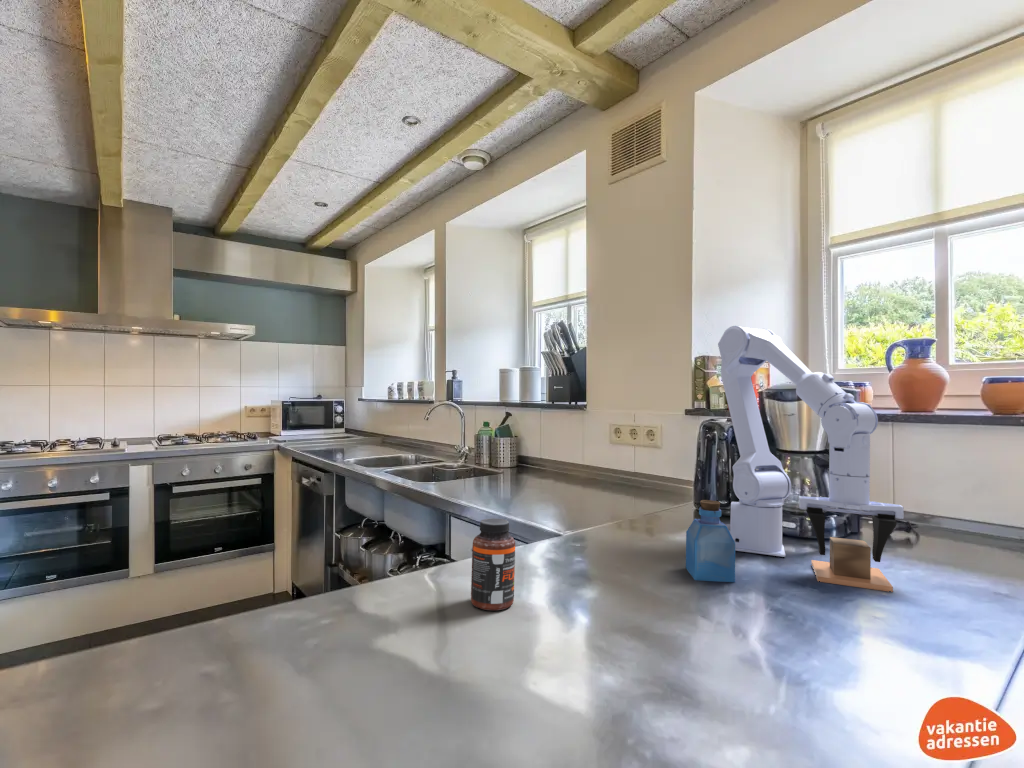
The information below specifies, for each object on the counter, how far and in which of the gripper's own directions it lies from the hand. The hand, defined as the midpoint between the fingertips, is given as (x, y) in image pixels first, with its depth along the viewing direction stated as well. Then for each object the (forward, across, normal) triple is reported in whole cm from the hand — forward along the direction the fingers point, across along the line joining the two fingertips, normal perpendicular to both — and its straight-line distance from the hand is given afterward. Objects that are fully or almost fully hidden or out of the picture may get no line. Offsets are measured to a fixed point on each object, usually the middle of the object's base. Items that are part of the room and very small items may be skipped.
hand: (848, 556), depth 87 cm
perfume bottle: (+4, -21, -10) cm, 23 cm away
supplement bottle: (+4, -47, -38) cm, 61 cm away
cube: (+2, 0, 0) cm, 3 cm away
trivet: (+3, 0, 0) cm, 3 cm away
